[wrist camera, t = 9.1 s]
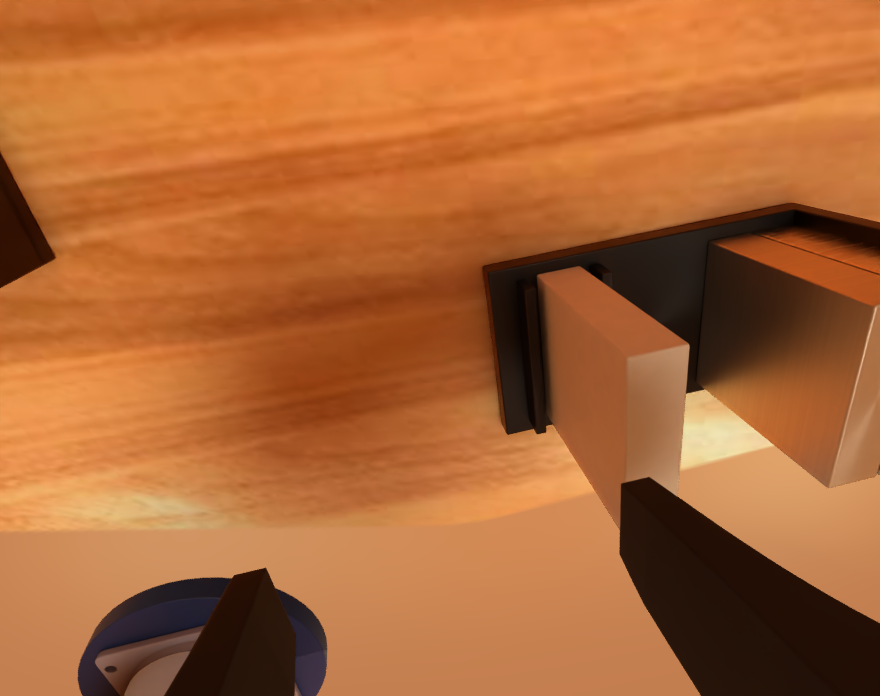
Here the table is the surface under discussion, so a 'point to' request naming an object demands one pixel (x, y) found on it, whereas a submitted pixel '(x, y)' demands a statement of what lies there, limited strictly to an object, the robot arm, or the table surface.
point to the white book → (611, 384)
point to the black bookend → (18, 234)
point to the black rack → (733, 325)
